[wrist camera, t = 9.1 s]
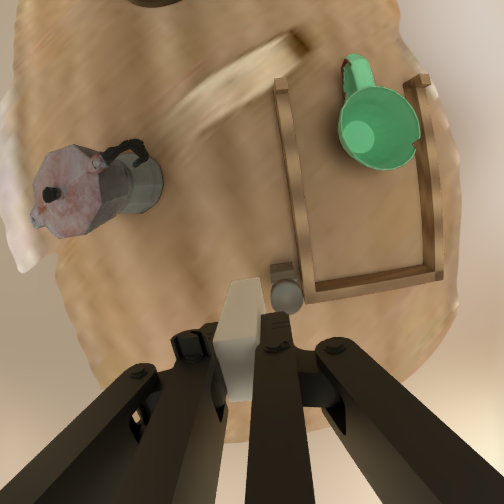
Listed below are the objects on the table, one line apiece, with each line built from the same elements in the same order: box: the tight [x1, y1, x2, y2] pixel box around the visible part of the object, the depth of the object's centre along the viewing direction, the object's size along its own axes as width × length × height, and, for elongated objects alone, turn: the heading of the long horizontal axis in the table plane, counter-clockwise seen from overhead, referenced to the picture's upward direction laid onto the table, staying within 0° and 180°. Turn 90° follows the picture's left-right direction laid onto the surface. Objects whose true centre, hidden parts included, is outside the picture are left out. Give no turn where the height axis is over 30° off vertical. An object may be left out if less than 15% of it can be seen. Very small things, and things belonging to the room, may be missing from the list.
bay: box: [270, 74, 444, 315], centre depth 38 cm, size 29×25×10 cm
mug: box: [338, 54, 421, 170], centre depth 36 cm, size 15×10×10 cm
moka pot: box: [30, 139, 163, 239], centre depth 34 cm, size 10×15×20 cm, turn 124°
